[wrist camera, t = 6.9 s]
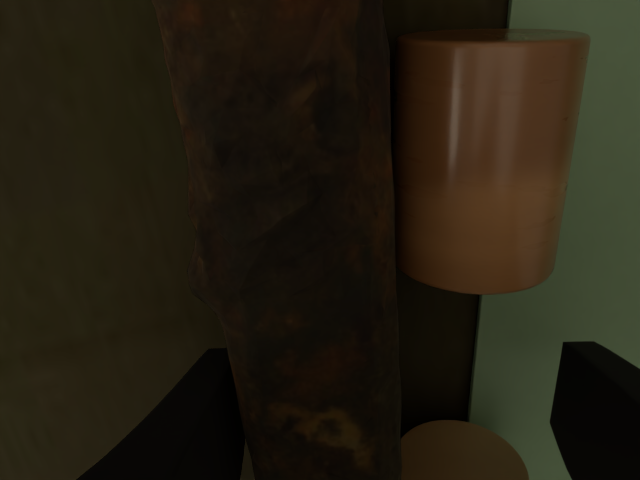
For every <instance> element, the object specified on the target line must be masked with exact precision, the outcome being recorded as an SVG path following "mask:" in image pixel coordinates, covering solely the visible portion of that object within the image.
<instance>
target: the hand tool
mask: <svg viewBox="0 0 640 480" xmlns="http://www.w3.org/2000/svg"><path fill="white" fill-rule="evenodd" d="M151 1H152V3H153V6H154V8H155V10H156V15H157V19H158V23H159V28H160V32H161V36H162V41H163V47H164V56H165V62H166V65H167V69H168V72H169V76H170V80H171V88H172V97H173V105H174V108H175V110H176V113H177V116H178V119H179V122H180V125H181V132H182V138H183V143H184V147H185V151H186V155H187V160H188V176H189V191H188V215H189V217H190V219H191V221H192V223H193V225H194V227H195V228H196V230H197V231H196V240H195V247H194V250H193V253H192V257H191V260H190V263H189V267H188V270H187V272H188V276H189V285H190V288H191V290H192V293H193V294H194V295H195V296H196V297H198V298H199V299H200V300H202V301H203V302H204V303H206V304H207V305H208V306H209V307H210V308H211V309H212V310H213V311H214V312H215V314H216V315H217V317H218V318H219V320H220V321H221V323H222V327H223V332H224V336H225V341H226V345H227V350H228V356H229V361H230V365H231V370H232V374H233V379H234V383H235V388H236V394H237V399H238V405H239V411H240V416H241V421H242V425H243V430H244V435H245V438H246V441H247V445H248V448H249V452H250V455H251V458H252V465H253V470H254V476H255V480H401V474H402V456H401V437H400V432H401V409H402V406H401V381H400V371H399V321H398V306H397V295H396V259H395V194H394V183H393V173H392V154H391V115H390V49H389V44H388V38H387V33H386V27H385V22H384V17H383V0H151Z"/></svg>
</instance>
